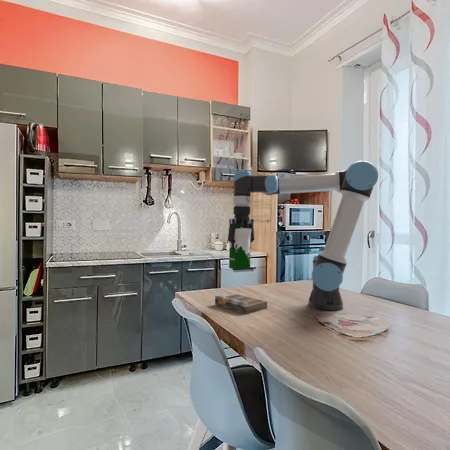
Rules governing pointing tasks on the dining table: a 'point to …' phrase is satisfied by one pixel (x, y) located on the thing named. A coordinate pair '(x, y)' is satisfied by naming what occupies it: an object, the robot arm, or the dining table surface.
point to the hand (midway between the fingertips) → (241, 256)
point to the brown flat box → (240, 303)
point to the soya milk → (240, 249)
